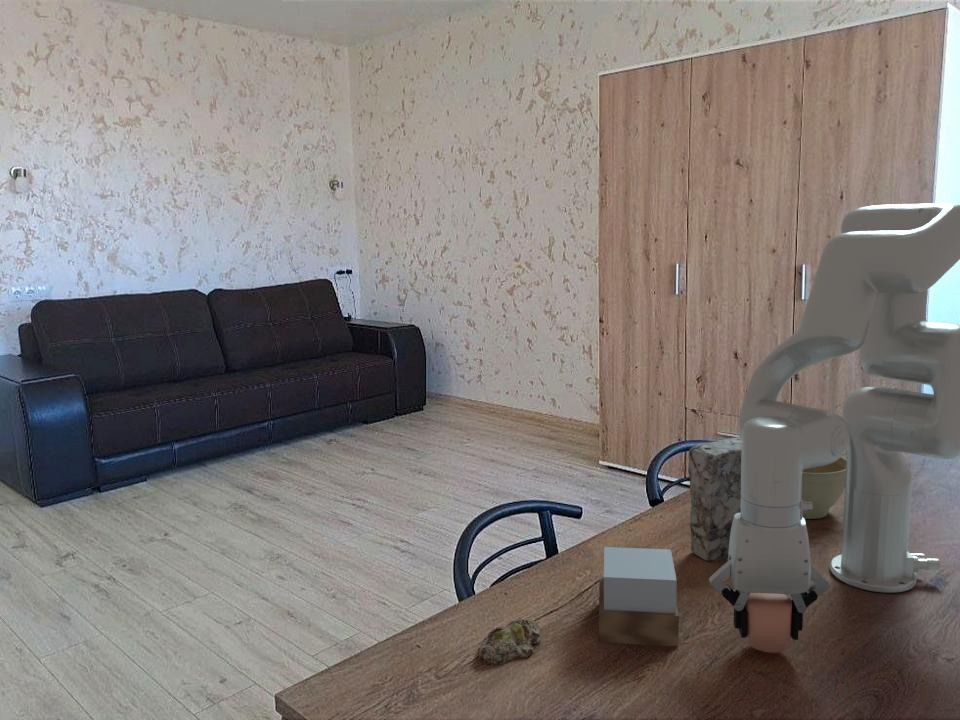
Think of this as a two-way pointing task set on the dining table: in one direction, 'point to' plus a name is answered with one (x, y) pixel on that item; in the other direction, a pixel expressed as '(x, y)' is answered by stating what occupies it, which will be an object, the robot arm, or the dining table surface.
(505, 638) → the mineral rock
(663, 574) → the slate cap block
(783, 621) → the dusty-pink cylinder
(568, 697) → the dining table surface
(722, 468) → the stone block
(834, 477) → the planter bowl
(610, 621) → the walnut base block
